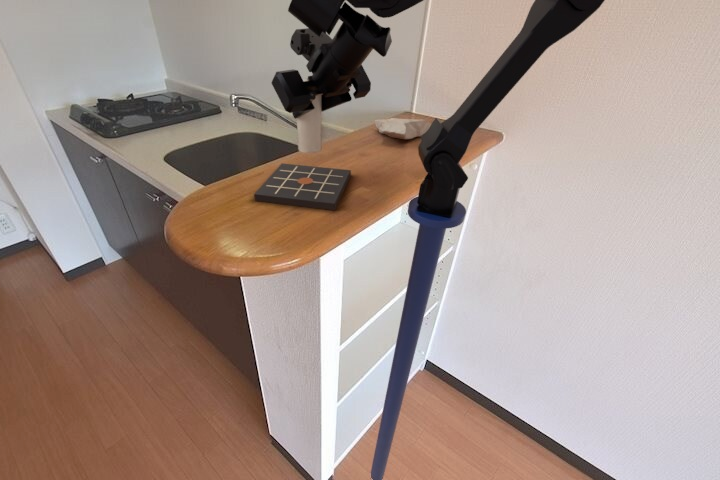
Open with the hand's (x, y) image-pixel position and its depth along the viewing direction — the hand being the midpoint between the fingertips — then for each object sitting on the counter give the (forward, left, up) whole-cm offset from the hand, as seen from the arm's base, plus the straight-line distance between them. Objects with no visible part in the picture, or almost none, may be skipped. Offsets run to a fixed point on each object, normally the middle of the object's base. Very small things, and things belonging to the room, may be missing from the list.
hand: (304, 113), depth 69 cm
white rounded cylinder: (-1, +1, -7) cm, 7 cm away
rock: (-8, -38, -14) cm, 41 cm away
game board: (-2, +4, -13) cm, 14 cm away
